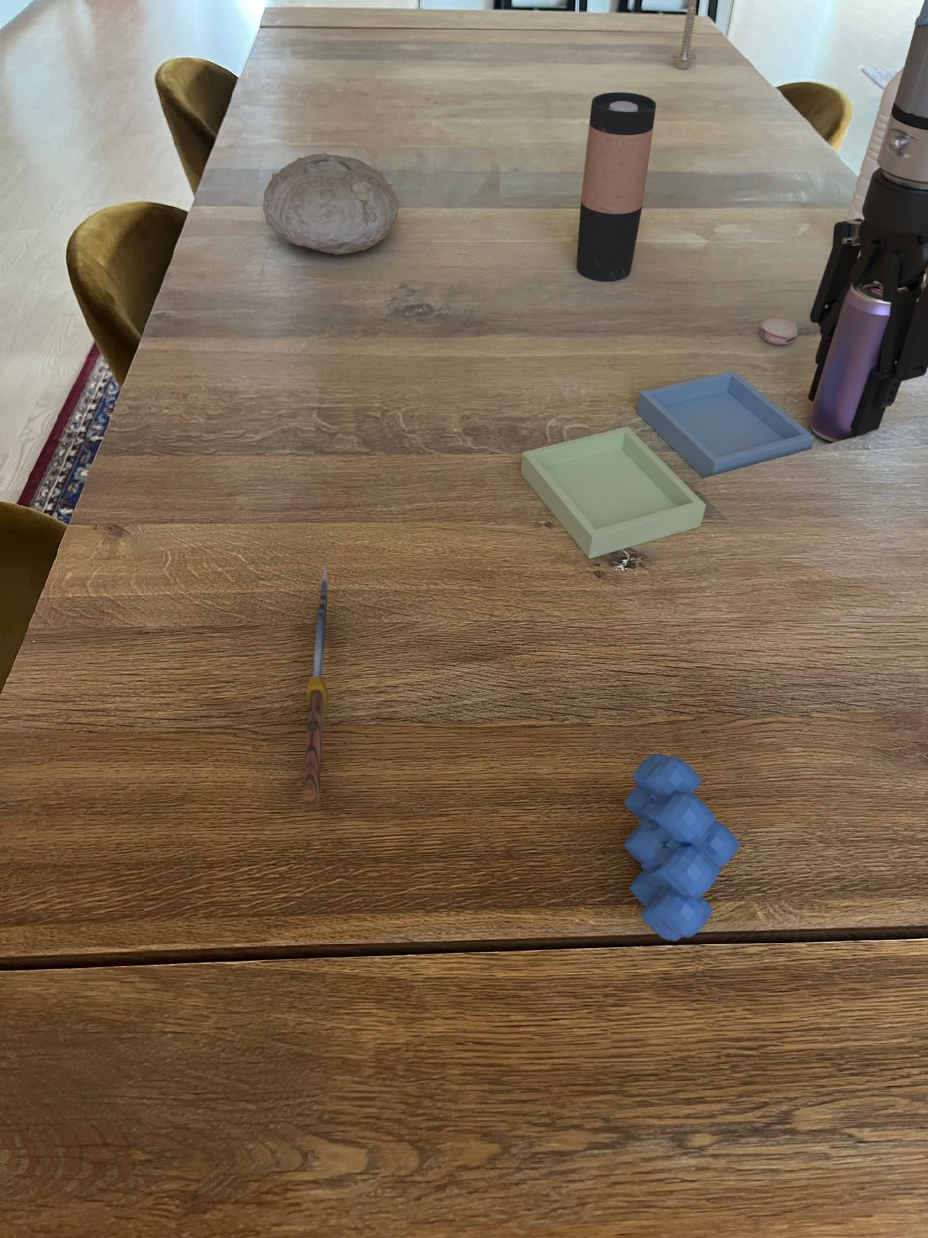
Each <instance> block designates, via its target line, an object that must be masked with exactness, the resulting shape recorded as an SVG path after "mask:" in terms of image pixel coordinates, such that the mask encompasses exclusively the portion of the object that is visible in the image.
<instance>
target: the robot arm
mask: <svg viewBox="0 0 928 1238" xmlns="http://www.w3.org/2000/svg"><path fill="white" fill-rule="evenodd" d="M903 65H904V66H903V67H904V69H903V72H902V76H901V80H900V83H899V87H898V90H897V94H896V98H895V100H894V103H893V107H892V111H891V114H890V117H889V120H888V124H887V127H886V131H885V134H884V138H883V141H882V145H881V148H880V152H879V155H878V158H877V164H878V165H879V167H880V168H878V169H877V170H876V171H875V172H873V174H872V177H871V180H870V184H869V187H868V190H867V194H866V197H865V200H864V204H863V207H862V214H863V217H864V220H862V219H861V218H858V219H852V220H847V221H845V220H843V221H838V222H836V223H834V226H833V235H832V246H831V247H832V248H831V251H830V254H829V257H828V259H827V262H826V265H825V268H824V271H823V275H822V278H821V281H820V283H819V287H818V290H817V293H816V296H815V299H814V302H813V304H812V307H811V310H810V314H809V321H810V322H811V323H812V324H817V325H818V327H819V334H820V336H821V337H820V340H819V344H818V347H817V351H816V354H815V357H814V364H816V368H815V371H814V376H813V379H812V382H811V385H810V389H809V391H808V396H807V399H808V400H809V401H810V402H812V403H813V401H814V398H815V395H816V391H817V388H818V385H819V381H820V378H821V375H822V371H823V368H824V365H825V361H826V358H827V355H828V351H829V348H830V345H831V341H832V338H833V335H834V331H835V328H836V325H837V321H838V318H839V315H840V311H841V308H842V305H843V301H844V298H845V295H846V293H847V291H848V290H849V289H850V285H851V283H852V281H854V282H855V284H856V285H858V284H862V285H864V284H869V283H873V282H874V281H875V280H877V281H878V282H879V283H880V284H881V285H882V286H883V293H882V299H883V301H887V302H890V303H891V306H890V316H889V319H888V322H887V325H886V328H885V331H884V334H883V341H882V352H881V363H880V370H878V371H874V372H871V375H870V378H869V381H868V384H867V387H866V390H865V393H864V395H863V398H862V401H861V404H860V407H859V410H858V413H857V416H856V419H855V422H854V425H853V428H852V431H851V432H852V433H854V434H855V435H860V434H863V433H867V432H868V433H871V432H874V431H878V430H879V428H880V425H881V422H882V420H883V417H884V415H885V412H886V409H887V407H891V406H892V405H893V404H894V403H895V400H896V397H897V395H898V392H899V389H900V387H901V384H902V382H905V381H909V380H913V379H917V378H919V377H924V376H925V375H926V373H927V371H928V0H923V3H922V6H921V9H920V11H919V15H918V16H917V17H916V18H915V22H914V29H913V33H912V37H911V40H910V44H909V48H908V51H907V55H906V59H905V62H904V64H903ZM860 250H861V251H860ZM859 253H860V256H859ZM858 256H859V257H858ZM924 279H925V280H924ZM903 287H907V288H905V289H900V290H898V289H899V288H903ZM868 433H867V434H868Z"/></svg>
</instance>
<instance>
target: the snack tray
mask: <svg viewBox="0 0 928 1238" xmlns="http://www.w3.org/2000/svg"><path fill="white" fill-rule="evenodd" d="M521 453H522V454H521V465H520V475H521V476H522V477H523V478H524V479H525V481H526V482H527V483H528V484H529V486H530V487H531V488H532V490H533V491H534V492H535V493H536V495H537V496H538V497H539V498H540V499H541V501H542V503H544V505H545V506H546V507H547V508H548V509H549V511H550V512H551V513H552V514H553V516H554V517H555V518H556V520H557V521H558V523H560V525H561V526H562V527H563V529H564V530H565V531H566V532H567V533H568V535H569V536H570V537H571V538H572V540H573V541H574V542H575V543H576V544H577V546H578V548H580V549H581V551H582V552H583V553H584V554H585V556H586V557H587V558H588V559H589V560H590V559H594V558H597V557H601V556H604V555H607V554H612V553H615V552H618V551H621V550H625V549H628V548H632V547H635V546H638V545H642V544H645V543H649V542H653V541H655V540H660V539H663V538H667V537H669V536H674V535H676V534H681V533H684V532H687V531H691V530H694V529H698V528H701V526H702V522H703V519H704V515H705V511H706V507H707V504H706V503H705V502H704V501H703V500H702V499H701V498H700V497H698V495H697V494H695V492H693V490H692V489H691V488H690V487H689V486H688V485H687V484H686V483H685V482H684V481H683V480H682V479H681V478H679V476H678V475H677V474H676V473H675V472H674V471H673V470H672V469H671V468H670V467H669V466H668V465H667V464H666V463H665V462H664V461H663V460H662V459H661V458H660V457H659V456H658V455H657V454H656V453H655V452H654V451H653V450H652V449H651V448H650V447H649V446H648V445H647V444H646V443H645V442H644V441H643V440H642V439H641V438H640V437H639V436H638V435H637V434H636V433H635V432H634V430H632V429H631V428H630V427H629V426H623V427H619V428H616V429H612V430H607V431H603V432H599V433H595V434H591V435H587V436H582V437H579V438H575V439H571V440H567V441H562V442H559V443H555V444H551V445H546V446H542V447H538V448H534V449H530V450H526V451H523V452H521Z"/></svg>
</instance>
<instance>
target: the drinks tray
mask: <svg viewBox="0 0 928 1238" xmlns="http://www.w3.org/2000/svg"><path fill="white" fill-rule="evenodd" d="M636 414H637V415H638V416H639V417H640V418H641V419H642V420H643V421H645V423H647V425H648V426H650V427H651V428H652V430H653V431H654V432H656V433H657V435H659V436H660V438H662V439H663V440H664V441H665V442H666V443H667V444H668V445H669V446H670V447H671V448H672V449H673V450H674V451H675V452H676V453H677V454H678V455H679V456H680V457H681V458H682V459H683V460H685V462H686V463H687V464H688V465H689V466H690V467H691V468H692V469H693V470H694V471H696V472H697V474H698V475H700V476H701V478H703V479H706V478H709V477H714V476H717V475H720V474H726V473H729V472H732V471H736V470H739V469H742V468H747V467H750V466H753V465H757V464H762V463H765V462H769V461H772V460H776V459H780V458H783V457H786V456H790V455H794V454H798V453H801V452H805V451H808V450H812V446H813V444H814V440H815V436H814V435H813V434H812V433H811V432H809V430H807V429H806V428H805V427H804V426H802V425H801V424H800V423H799V422H798V421H796V420H795V419H794V418H793V417H791V416H790V415H789V414H788V413H786V412H785V411H784V410H782V408H780V407H779V406H778V405H777V404H775V403H774V402H773V401H772V400H771V399H770V398H768V397H767V396H766V395H764V394H763V393H762V392H760V391H759V390H758V389H757V388H756V387H755V386H754V385H752V384H751V383H750V382H749V381H747V380H746V379H745V378H743V376H741V375H740V374H738V373H737V372H736V371H735V370H734V369H733V370H728V371H724V372H720V373H716V374H712V375H707V376H703V377H698V378H694V379H689V380H687V381H682V382H677V383H674V384H668V385H665V386H661V387H656V388H651V389H647V390H644V391H643V390H642V391H640V392H639V397H638V402H637V409H636Z"/></svg>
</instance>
